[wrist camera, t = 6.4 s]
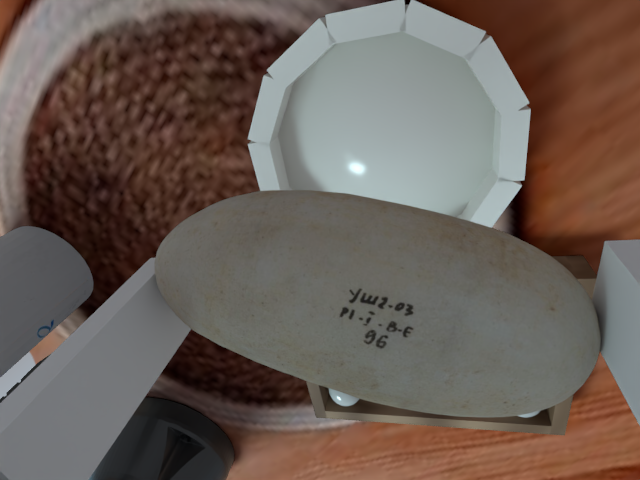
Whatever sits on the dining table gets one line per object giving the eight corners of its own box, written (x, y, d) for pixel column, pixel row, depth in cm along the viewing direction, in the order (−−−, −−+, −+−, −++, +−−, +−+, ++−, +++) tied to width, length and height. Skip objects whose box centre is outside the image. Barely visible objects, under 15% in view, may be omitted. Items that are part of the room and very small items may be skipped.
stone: (119, 173, 10) (719, 274, 5) (261, 171, 16) (619, 218, 10) (125, 366, 12) (603, 609, 6) (254, 302, 17) (568, 403, 12)
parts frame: (321, 394, 37) (316, 417, 35) (288, 265, 30) (279, 285, 28) (554, 407, 32) (564, 435, 30) (582, 255, 25) (599, 278, 23)
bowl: (292, 254, 29) (282, 274, 27) (237, 33, 22) (218, 36, 20) (507, 245, 25) (516, 267, 23) (527, -26, 18) (543, -31, 16)
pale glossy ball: (334, 384, 36) (328, 412, 33) (329, 361, 34) (322, 389, 32) (366, 385, 35) (362, 415, 33) (362, 362, 34) (358, 391, 31)
